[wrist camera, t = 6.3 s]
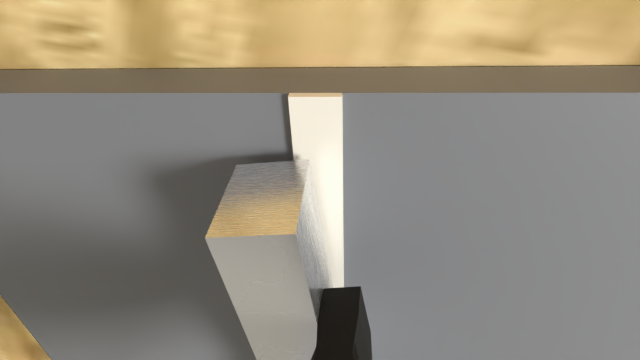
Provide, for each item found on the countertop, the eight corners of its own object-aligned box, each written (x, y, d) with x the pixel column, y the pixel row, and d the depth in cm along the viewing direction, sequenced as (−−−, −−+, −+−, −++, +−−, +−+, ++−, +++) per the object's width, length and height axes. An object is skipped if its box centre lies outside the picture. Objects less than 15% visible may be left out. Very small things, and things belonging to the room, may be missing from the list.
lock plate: (594, 401, 19) (648, 526, 15) (99, 370, 21) (45, 472, 17) (848, 64, 9) (1153, 184, 6) (-106, 70, 11) (-320, 160, 8)
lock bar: (367, 402, 17) (368, 475, 15) (299, 401, 17) (291, 471, 15) (330, 157, 10) (321, 232, 8) (216, 166, 10) (180, 238, 8)
